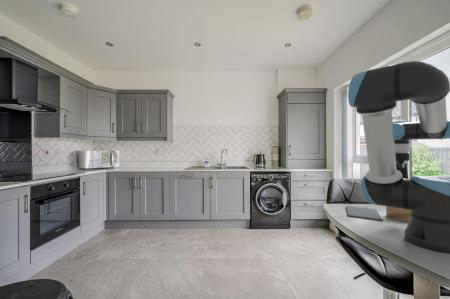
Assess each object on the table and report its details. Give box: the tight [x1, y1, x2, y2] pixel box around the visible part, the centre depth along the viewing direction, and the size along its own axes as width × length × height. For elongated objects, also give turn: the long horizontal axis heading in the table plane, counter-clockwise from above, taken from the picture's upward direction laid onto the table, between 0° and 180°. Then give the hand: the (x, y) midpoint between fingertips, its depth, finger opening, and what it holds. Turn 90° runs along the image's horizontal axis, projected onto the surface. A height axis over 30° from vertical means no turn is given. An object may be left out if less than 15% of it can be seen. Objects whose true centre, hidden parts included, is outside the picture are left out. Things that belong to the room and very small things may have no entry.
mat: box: [345, 205, 384, 222], centre depth 111 cm, size 20×14×1 cm
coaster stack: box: [385, 206, 411, 222], centre depth 104 cm, size 6×9×7 cm, turn 62°
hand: (399, 195), depth 104 cm, fingers open, 13 cm apart
